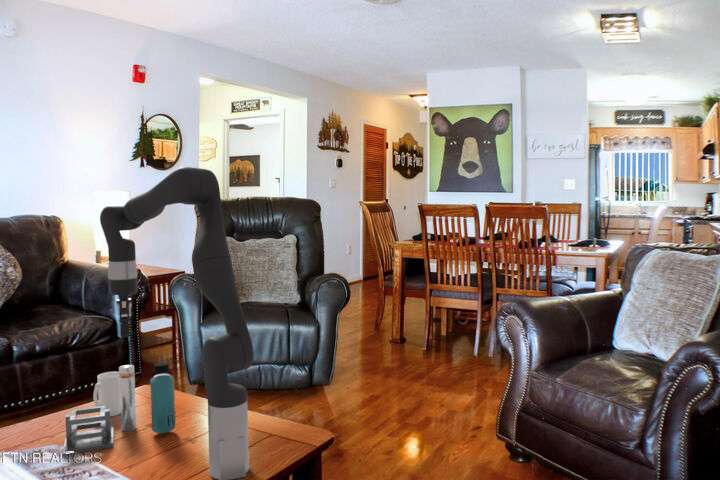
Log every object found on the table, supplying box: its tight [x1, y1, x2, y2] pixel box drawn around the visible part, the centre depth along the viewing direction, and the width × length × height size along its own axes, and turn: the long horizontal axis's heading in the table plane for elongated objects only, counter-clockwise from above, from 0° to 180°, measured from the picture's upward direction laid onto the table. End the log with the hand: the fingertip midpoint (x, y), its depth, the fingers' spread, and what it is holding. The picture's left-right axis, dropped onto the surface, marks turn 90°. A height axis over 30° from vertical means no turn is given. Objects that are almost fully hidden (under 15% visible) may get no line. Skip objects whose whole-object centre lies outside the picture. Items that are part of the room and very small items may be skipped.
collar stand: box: [61, 406, 115, 454], centre depth 157 cm, size 12×12×8 cm
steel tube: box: [118, 364, 137, 432], centre depth 166 cm, size 4×4×18 cm
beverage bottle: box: [149, 361, 177, 434], centre depth 162 cm, size 6×7×20 cm
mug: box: [92, 371, 121, 417], centre depth 177 cm, size 10×7×12 cm, turn 162°
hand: (125, 333), depth 165 cm, fingers open, 8 cm apart
